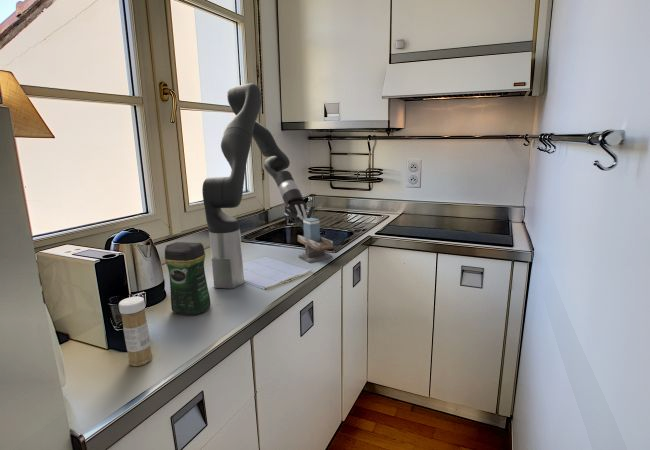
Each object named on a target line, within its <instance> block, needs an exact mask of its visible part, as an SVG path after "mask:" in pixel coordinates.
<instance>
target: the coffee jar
mask: <svg viewBox="0 0 650 450" xmlns="http://www.w3.org/2000/svg"><path fill="white" fill-rule="evenodd" d="M164 248H165V249H164V261H165V263H166V266H167V269H168V276H169V277H168V278H169V285H170V287H169V288H170V305H171V311H172V312H173V313H175V314H179V315H184V316H186V315H187V316H188V315H189V316H194V315H195V316H196V315H198V314H201V313H204V312H206V311H207V310H208V309H209V308H210V307H211V304H212V303H211V298H210V291H209V288H208V283H207V277H206V271H205V259H206V252H205V249H204V244H202V242H192V241H191V242H187V241H175V242H174V241H173V242H172V243H168V244H167V245H165V247H164Z"/></svg>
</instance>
